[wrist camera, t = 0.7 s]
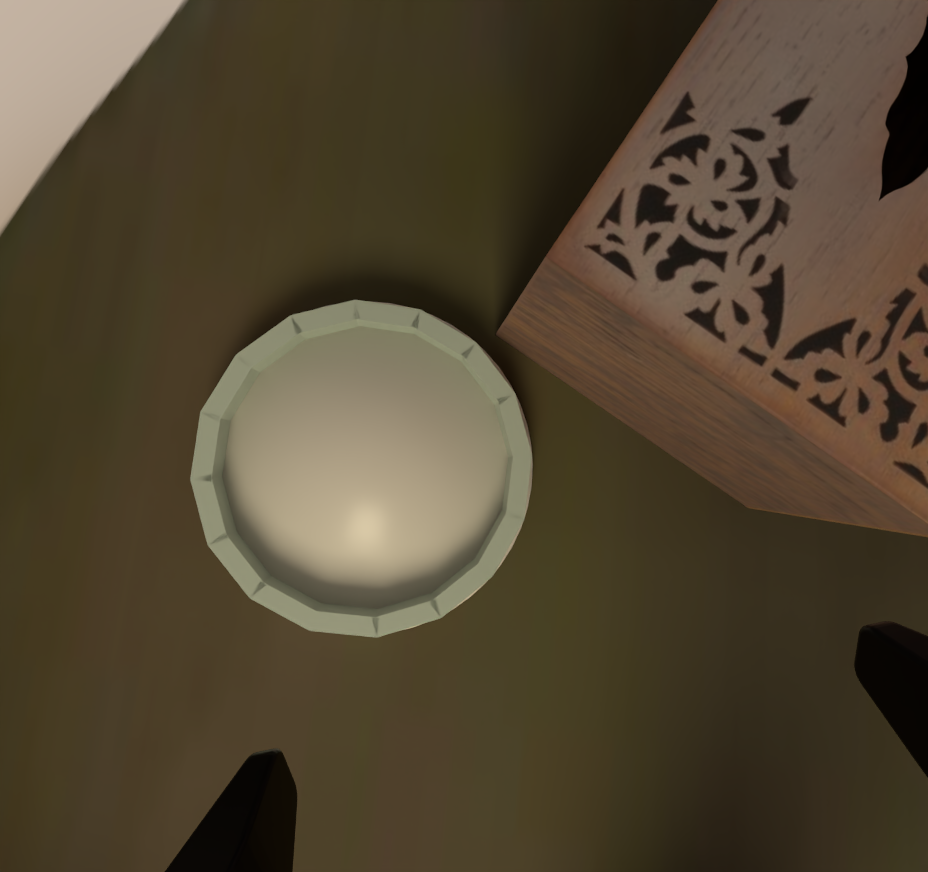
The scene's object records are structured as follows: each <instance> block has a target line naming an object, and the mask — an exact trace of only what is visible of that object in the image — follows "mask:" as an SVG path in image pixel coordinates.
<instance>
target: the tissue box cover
mask: <svg viewBox="0 0 928 872" xmlns="http://www.w3.org/2000/svg"><path fill="white" fill-rule="evenodd" d="M495 335H496V336H498V337H499V338H501V339H502V340H504V341H505V342H507V343H508V344H510V345H511V346H512V347H514V348H515V349H517V350H518V351H520V352H521V353H523V354H524V355H526V356H527V357H529V358H530V359H531V360H533V361H534V362H536V363H537V364H539V365H540V366H542V367H543V368H545V369H546V370H547V371H549V372H550V373H552V374H553V375H555V376H556V377H558V378H559V379H561V380H562V381H564V382H565V383H566V384H568V385H569V386H571V387H572V388H574V389H575V390H577V391H578V392H580V393H581V394H582V395H584V396H585V397H587V398H588V399H590V400H591V401H593V402H594V403H596V404H597V405H599V406H600V407H601V408H603V409H604V410H606V411H607V412H609V413H610V414H612V415H613V416H615V417H616V418H617V419H619V420H620V421H622V422H623V423H625V424H626V425H628V426H629V427H631V428H632V429H634V430H635V431H636V432H638V433H639V434H641V435H642V436H644V437H645V438H647V439H648V440H650V441H651V442H652V443H654V444H655V445H657V446H658V447H660V448H661V449H663V450H664V451H666V452H667V453H669V454H670V455H671V456H673V457H674V458H676V459H677V460H679V461H680V462H682V463H683V464H685V465H686V466H687V467H689V468H690V469H692V470H693V471H695V472H696V473H698V474H699V475H701V476H702V477H704V478H705V479H706V480H708V481H709V482H711V483H712V484H714V485H715V486H717V487H718V488H720V489H721V490H722V491H724V492H725V493H727V494H728V495H730V496H731V497H733V498H734V499H736V500H737V501H739V502H740V503H741V504H743V505H744V506H746V507H747V508H751V509H757V510H763V511H770V512H776V513H782V514H788V515H794V516H801V517H807V518H813V519H819V520H825V521H831V522H838V523H844V524H850V525H856V526H862V527H869V528H875V529H881V530H887V531H893V532H899V533H906V534H912V535H918V536H924V537H928V0H718V1H717V2H716V4H715V5H714V7H713V8H712V10H711V11H710V13H709V14H708V16H707V17H706V19H705V20H704V22H703V23H702V24H701V26H700V27H699V29H698V30H697V32H696V33H695V35H694V36H693V38H692V39H691V41H690V42H689V44H688V45H687V47H686V48H685V50H684V51H683V53H682V54H681V56H680V57H679V59H678V60H677V62H676V63H675V65H674V66H673V68H672V69H671V71H670V72H669V74H668V75H667V77H666V78H665V80H664V81H663V83H662V84H661V86H660V87H659V88H658V90H657V91H656V93H655V94H654V96H653V97H652V99H651V100H650V102H649V103H648V105H647V106H646V108H645V109H644V111H643V112H642V114H641V115H640V117H639V118H638V120H637V121H636V123H635V124H634V126H633V127H632V129H631V130H630V132H629V133H628V135H627V136H626V138H625V139H624V141H623V142H622V144H621V145H620V147H619V148H618V149H617V151H616V152H615V154H614V155H613V157H612V158H611V160H610V161H609V163H608V164H607V166H606V167H605V169H604V170H603V172H602V173H601V175H600V176H599V178H598V179H597V181H596V182H595V184H594V185H593V187H592V188H591V190H590V191H589V193H588V194H587V196H586V197H585V199H584V200H583V202H582V203H581V205H580V206H579V208H578V209H577V211H576V212H575V213H574V215H573V216H572V218H571V219H570V221H569V222H568V224H567V225H566V227H565V228H564V230H563V231H562V233H561V234H560V236H559V237H558V239H557V240H556V242H555V243H554V245H553V246H552V248H551V249H550V251H549V252H548V254H547V255H546V257H545V258H544V260H543V261H542V263H541V264H540V266H539V267H538V269H537V271H536V272H535V274H534V275H533V277H532V278H531V280H530V281H529V283H528V285H527V286H526V288H525V289H524V291H523V292H522V294H521V295H520V297H519V298H518V300H517V302H516V303H515V305H514V306H513V308H512V309H511V311H510V312H509V314H508V316H507V317H506V319H505V320H504V322H503V323H502V325H501V326H500V328H499V329H498V331H497V333H496V334H495Z"/></svg>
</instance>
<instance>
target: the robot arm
mask: <svg viewBox="0 0 928 872" xmlns="http://www.w3.org/2000/svg"><path fill="white" fill-rule="evenodd" d="M854 667H855V672H856V675H857V677H858V679H859V681H860V683H861V684H862V686H863V687H864V688H865V690H866V691H867V693H868V694H869V696H870V697H871V698H872V700H873V701H874V703H875V704H876V705H877V707H878V708H879V710H880V711H881V713H882V714H883V715H884V717H885V718H886V720H887V721H888V722H889V724H890V725H891V727H892V728H893V730H894V731H895V732H896V734H897V735H898V737H899V738H900V739H901V741H902V742H903V744H904V745H905V747H906V748H907V749H908V751H909V752H910V754H911V755H912V756H913V758H914V759H915V761H916V762H917V764H918V765H919V766H920V768H921V769H922V770H923V772H924V773H925V774H926V776H927V777H928V636H926V635H924V634H921V633H919V632H916V631H914V630H912V629H909V628H907V627H904V626H902V625H900V624H897V623H894V622H889V621H885V622H879V623H875V624H870V625H866V626H863V627H862V628H861V630H860V632H859V637H858V643H857V649H856V656H855V662H854ZM296 812H297V789H296V785H295V782H294V779H293V777H292V774H291V772H290V770H289V767H288V765H287V762H286V760H285V757H284V755H283V753H282V751H281V750H279V749H270V750H265V751H260V752H256V753H253V754H252V755H250V756H249V757H248V758H247V759H246V761H245V762H244V764H243V765H242V766H241V768H240V769H239V770H238V772H237V773H236V775H235V776H234V777H233V779H232V780H231V781H230V783H229V784H228V786H227V787H226V788H225V790H224V791H223V792H222V794H221V795H220V797H219V798H218V799H217V801H216V802H215V803H214V805H213V806H212V808H211V809H210V810H209V812H208V813H207V814H206V816H205V817H204V819H203V820H202V821H201V823H200V824H199V825H198V827H197V828H196V830H195V831H194V832H193V834H192V835H191V836H190V838H189V839H188V841H187V842H186V843H185V845H184V846H183V847H182V849H181V850H180V852H179V853H178V854H177V856H176V857H175V858H174V860H173V861H172V863H171V864H170V865H169V867H168V868H167V869H166V871H165V872H292V870H293V856H294V841H295V826H296Z"/></svg>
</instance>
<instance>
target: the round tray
mask: <svg viewBox="0 0 928 872" xmlns="http://www.w3.org/2000/svg"><path fill="white" fill-rule="evenodd" d="M532 470H533V462H532V448H531V441H530V436H529V431H528V426H527V422H526V419H525V416H524V413H523V411H522V408H521V405H520V402H519V400H518V398H517V396H516V394H515V392H514V390H513V388H512V386H511V384H510V383H509V381H508V380H507V378H506V377H505V375H504V374H503V372H502V371H501V369H500V368H499V366H498V365H497V364H496V363H495V362H494V361H493V359H492V358H491V357H490V356H489V355H488V354H487V353H486V351H485V350H483V349H482V348H481V347H480V346H479V345H478V344H477V343H476V342H475V341H473V340H472V339H471V338H470V337H469V336H467V335H466V334H464V333H463V332H461V331H460V330H458V329H457V328H456V327H454V326H453V325H451V324H449V323H447V322H445V321H443V320H441V319H439V318H437V317H435V316H433V315H431V314H428V313H426V312H424V311H422V310H421V309H415V308H411V307H406V306H401V305H397V304H392V303H382V302H371V301H361V300H352V301H348V302H343V303H339V304H335V305H329V306H324V307H321V308H318V309H314V310H310V311H306V312H302V313H298V314H294V315H290V316H289V317H287V318H286V319H285V320H283V321H282V322H280V323H279V324H278V325H276V326H275V327H274V328H272V329H271V330H269V331H268V332H267V333H265V334H264V335H262V336H261V337H260V338H258V339H257V340H255V341H254V342H253V343H251V344H250V345H249V346H247V347H246V348H244V349H243V350H242V351H240V352H239V353H237V354H236V355H235V357H234V359H233V360H232V362H231V363H230V365H229V367H228V368H227V370H226V372H225V373H224V375H223V376H222V378H221V380H220V381H219V383H218V385H217V386H216V388H215V389H214V391H213V393H212V394H211V396H210V398H209V399H208V401H207V402H206V404H205V406H204V407H203V409H202V410H201V412H200V418H199V425H198V432H197V438H196V445H195V452H194V458H193V465H192V472H191V478H190V480H191V484H192V488H193V491H194V495H195V499H196V503H197V506H198V510H199V514H200V518H201V522H202V525H203V529H204V533H205V537H206V540H207V544H208V546H209V547H210V549H211V550H212V551H213V552H214V554H215V555H216V556H217V557H218V559H219V560H220V561H221V562H222V564H223V565H224V566H225V568H226V569H227V570H228V571H229V573H230V574H231V575H232V576H233V578H234V579H235V580H236V581H237V583H238V584H239V585H240V587H241V588H242V589H243V590H244V592H245V593H246V594H247V595H248V597H249V598H250V599H252V600H254V601H256V602H257V603H259V604H261V605H263V606H265V607H267V608H269V609H270V610H272V611H274V612H276V613H278V614H280V615H281V616H283V617H285V618H287V619H289V620H291V621H292V622H294V623H296V624H298V625H300V626H302V627H303V628H305V629H307V630H309V631H317V632H327V633H337V634H347V635H357V636H367V637H380V636H383V635H387V634H390V633H393V632H397V631H400V630H404V629H409V628H413V627H415V626H418V625H421V624H423V623H426V622H430V621H433V620H436V619H440V618H442V617H443V616H444V615H446V614H447V613H448V612H449V611H451V610H453V609H454V608H455V607H457V606H458V605H460V604H461V603H462V602H464V601H465V600H467V599H468V598H470V597H471V596H472V595H473V594H474V593H475V592H476V591H477V590H478V589H479V588H481V587H482V586H483V585H484V584H485V583H486V582H487V581H488V580H489V579H490V578H491V577H493V575H494V573H495V571H496V570H497V569H498V568H499V566H500V565H501V564H502V562H503V560H504V559H505V557H506V556H507V554H508V553H509V551H510V550H511V548H512V546H513V544H514V542H515V540H516V538H517V535H518V533H519V531H520V529H521V527H522V523H523V521H524V518H525V514H526V511H527V508H528V503H529V498H530V492H531V487H532Z"/></svg>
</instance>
